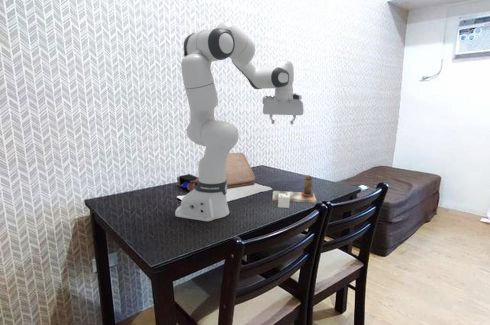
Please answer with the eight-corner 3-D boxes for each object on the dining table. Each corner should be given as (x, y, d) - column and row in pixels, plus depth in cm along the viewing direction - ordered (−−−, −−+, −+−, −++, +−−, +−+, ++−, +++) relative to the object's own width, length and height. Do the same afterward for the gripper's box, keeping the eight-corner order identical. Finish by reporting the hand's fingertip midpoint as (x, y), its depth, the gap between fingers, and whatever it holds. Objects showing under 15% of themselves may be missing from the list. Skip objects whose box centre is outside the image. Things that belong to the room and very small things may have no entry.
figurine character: (176, 188, 161) (189, 193, 148) (175, 175, 160) (187, 178, 147) (187, 186, 165) (201, 191, 152) (186, 173, 164) (200, 176, 151)
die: (277, 207, 133) (278, 196, 131) (278, 203, 137) (278, 193, 136) (289, 208, 132) (289, 197, 131) (289, 204, 137) (289, 193, 136)
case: (223, 190, 156) (223, 160, 152) (208, 179, 174) (208, 153, 170) (256, 184, 166) (257, 156, 162) (239, 175, 184) (239, 150, 180)
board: (272, 200, 141) (272, 197, 141) (273, 193, 152) (273, 190, 151) (316, 202, 139) (316, 199, 138) (313, 195, 149) (313, 192, 149)
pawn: (302, 197, 142) (303, 176, 140) (301, 193, 147) (302, 173, 145) (313, 197, 141) (314, 177, 139) (312, 194, 146) (313, 174, 144)
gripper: (262, 95, 145) (261, 123, 148) (304, 96, 142) (303, 125, 145) (262, 95, 151) (262, 122, 154) (303, 96, 148) (302, 124, 151)
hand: (282, 124), depth 149 cm, fingers open, 8 cm apart
